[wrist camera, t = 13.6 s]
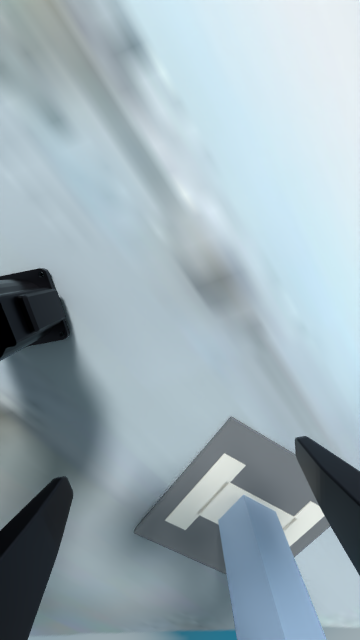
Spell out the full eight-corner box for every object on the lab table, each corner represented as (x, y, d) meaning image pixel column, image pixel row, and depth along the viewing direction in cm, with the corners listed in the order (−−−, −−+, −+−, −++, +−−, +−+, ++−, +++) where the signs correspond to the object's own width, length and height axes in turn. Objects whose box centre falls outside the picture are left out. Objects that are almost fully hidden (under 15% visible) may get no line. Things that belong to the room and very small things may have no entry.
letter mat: (257, 584, 30) (258, 589, 30) (134, 529, 27) (133, 534, 27) (361, 493, 26) (364, 497, 26) (231, 416, 23) (232, 419, 23)
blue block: (249, 536, 27) (313, 773, 14) (218, 520, 26) (256, 756, 14) (275, 511, 26) (368, 743, 13) (243, 494, 25) (309, 723, 13)
